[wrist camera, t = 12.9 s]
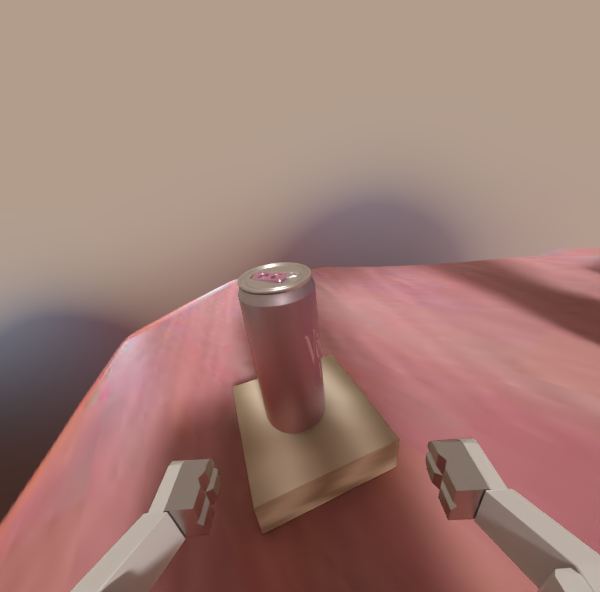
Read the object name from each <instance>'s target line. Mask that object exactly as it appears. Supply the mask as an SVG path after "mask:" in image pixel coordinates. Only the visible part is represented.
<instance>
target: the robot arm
mask: <svg viewBox="0 0 600 592" xmlns="http://www.w3.org/2000/svg"><path fill="white" fill-rule="evenodd" d="M428 449H429V451H430V452H428V453H427V454H426V466H427V470H428V473H429V476H430V479H431V481H432V483H433V484H434V485H435V486H436V487H437V488H438V489H440V491H439V496H438V498H439V500H440V502H441V505H442V507H443V509H444V512H445V514H446V516H447V519H448V520H466V519H475V520H474V521H475V522H476V523H477V524H478V525H479V526H480V527H481V529H482V530H483V531H484V532H485V533H486V534H487V535H488V536H489V537H490V538H491V539H492V540H493V541H494V542H495V543H496V544H497V545H498V546H499V547H500V548H501V549H502V551H503V552H504V553H505V554H506V555H507V556H508V557H509V558H510V559H511V560H512V561H513V562H514V563H515V564H516V565H517V566H518V567H519V568H520V569H521V570H522V571H523V572H524V574H525V575H526V576H527V577H528V578H529V579H530V580H531V581H532V582H533V583H534V584H535V585H536V586H537V587H538V588H539V590H538V591H537V592H600V555H599V554H598V553H596V552H595V551H594V550H592V549H591V548H590V547H588V546H587V545H586V544H584V543H583V542H582V541H581V540H579V539H578V538H577V537H575V536H574V535H573V534H571V533H570V532H569V531H567V530H566V529H565V528H563V527H562V526H561V525H560V524H558V523H557V522H556V521H554V520H553V519H552V518H550V517H549V516H548V515H546V514H545V513H544V512H542V511H541V510H540V509H539V508H537V507H536V506H535V505H533V504H532V503H531V502H529V501H528V500H527V499H525V498H524V497H523V496H521V495H520V494H519V493H518V492H516V491H515V490H514V489H512V488H509V489H507V487H506V485H505V484H504V482H503V481H502V479H501V478H500V476H499V475H498V473H497V472H496V470H495V469H494V467H493V466H492V464H491V463H490V461H489V459H488V458H487V456H486V455H485V453H484V452H483V450H482V449H481V447H480V446H479V444H478V443H477V441H476V440H475V439H473V438H459V439H446V440H436V441H430V442H428ZM214 465H215V462H214V460H213V458H207V459H194V460H179V461H172V462H171V464H170V465H169V466H168V468H167V470H166V473H165V475H164V477H163V479H162V482H161V484H160V486H159V489H158V491H157V493H156V496H155V498H154V500H153V502H152V505H151V507H150V509H149V512H148V513H144V514H143V515H142V516H141V517H140V518H139V519H138V520H137V521H136V522H135V523H134V524H133V525H132V527H131V528H130V529H129V530H128V531H127V532H126V533H125V534H124V535H123V536H122V537H121V538H120V539H119V540H118V541H117V543H116V544H115V545H114V546H113V547H112V548H111V549H110V550H109V551H108V552H107V553H106V554H105V555H104V556H103V557H102V558H101V560H100V561H99V562H98V563H97V564H96V565H95V566H94V567H93V568H92V569H91V570H90V571H89V572H88V573H87V574H86V576H85V577H84V578H83V579H82V580H81V581H80V582H79V583H78V584H77V585H76V586H75V587H74V588H73V589H72V590H71V591H70V592H150V591H151V589H152V588H153V586H154V585H155V583H156V582H157V580H158V579H159V577H160V576H161V574H162V573H163V571H164V570H165V569H166V567H167V566H168V564H169V563H170V561H171V560H172V558H173V557H174V555H175V554H176V552H177V551H178V549H179V548H180V546H181V545H182V543H183V542H184V541H185V537H194V536H204V535H209V532H210V528H211V524H212V520H213V516H214V510H213V507H212V505H213V503H214V502H215V501H216V500H217V498H218V495H219V490H220V481H221V479H220V473H219V471H218V470H217V469H216V468H214Z"/></svg>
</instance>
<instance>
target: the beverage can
mask: <svg viewBox="0 0 600 592" xmlns="http://www.w3.org/2000/svg"><path fill="white" fill-rule="evenodd" d="M238 286H239V293H238V297H239V301H240V305H241V310H242V314H243V318H244V322H245V326H246V331H247V335H248V339H249V343H250V347H251V352H252V356H253V360H254V364H255V368H256V373H257V377H258V381H259V385H260V390H261V394H262V398H263V402H264V406H265V411H266V415H267V418H268V420H269V422H270V424H271V425H272V426H273V427H274V428H276V429H277V430H279V431H281V432H283V433H286V434H302V433H305V432H307V431H309V430H311V429H312V428H314V427H315V426H316V425H317V424H318V423H319V421H320V420H321V419H322V417H323V415H324V412H325V394H324V383H323V372H322V360H321V349H320V338H319V326H318V315H317V303H316V292H315V283H314V281H313V279H312V277H311V270H310V268H309V267H307V266H306V265H303V264H299V263H292V262H279V263H271V264H266V265H262V266H258V267H255V268H253V269H250V270H248V271H247V272H245V273H244V274H242V275H241V276H240V278H239V279H238Z"/></svg>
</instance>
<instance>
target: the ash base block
mask: <svg viewBox="0 0 600 592" xmlns="http://www.w3.org/2000/svg"><path fill="white" fill-rule="evenodd" d="M321 360H322V372H323V383H324V394H325V412H324V415H323V417H322V419H321V420H320V421H319V423H318V424H317V425H316V426H315V427H314V428H312V429H311V430H309V431H307V432H305V433H302V434H286V433H283V432H281V431H279V430H277V429H276V428H274V427H273V426H272V425H271V424H270V422H269V420H268V418H267V415H266V411H265V406H264V402H263V398H262V394H261V390H260V385H259V381H258V379H255V380H252V381H249V382H246V383H243V384H240V385H237V386H234V387H232V389H233V395H234V400H235V406H236V412H237V417H238V423H239V429H240V434H241V440H242V446H243V451H244V457H245V463H246V468H247V474H248V480H249V485H250V491H251V497H252V503H253V508H254V511H255V514H256V517H257V520H258V522H259V525H260V528H261V531H262V534H264V533H266V532H268V531H270V530H272V529H274V528H276V527H278V526H280V525H282V524H284V523H286V522H288V521H290V520H292V519H294V518H296V517H298V516H300V515H302V514H304V513H306V512H308V511H310V510H312V509H314V508H316V507H318V506H320V505H322V504H324V503H326V502H328V501H330V500H331V499H333V498H335V497H337V496H339V495H341V494H343V493H345V492H347V491H349V490H351V489H353V488H355V487H357V486H359V485H361V484H363V483H365V482H367V481H369V480H371V479H373V478H375V477H377V476H379V475H381V474H383V473H385V472H387V471H389V470H391V469H393V468H395V467H397V458H398V448H399V438H398V437H397V435H396V434H395V433H394V432H393V430H392V429H391V428H390V426H389V425H388V424H387V423H386V421H385V420H384V419H383V418H382V416H381V415H380V414H379V413H378V411H377V410H376V409H375V407H374V406H373V405H372V404H371V402H370V401H369V400H368V399H367V397H366V396H365V395H364V393H363V392H362V391H361V390H360V388H359V387H358V386H357V385H356V383H355V382H354V381H353V380H352V378H351V377H350V376H349V374H348V373H347V372H346V371H345V369H344V368H343V367H342V366H341V364H340V363H339V362H338V361H337V359H336V358H335V357H334V355H333V354H329V355H326V356H323V357H321Z"/></svg>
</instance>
